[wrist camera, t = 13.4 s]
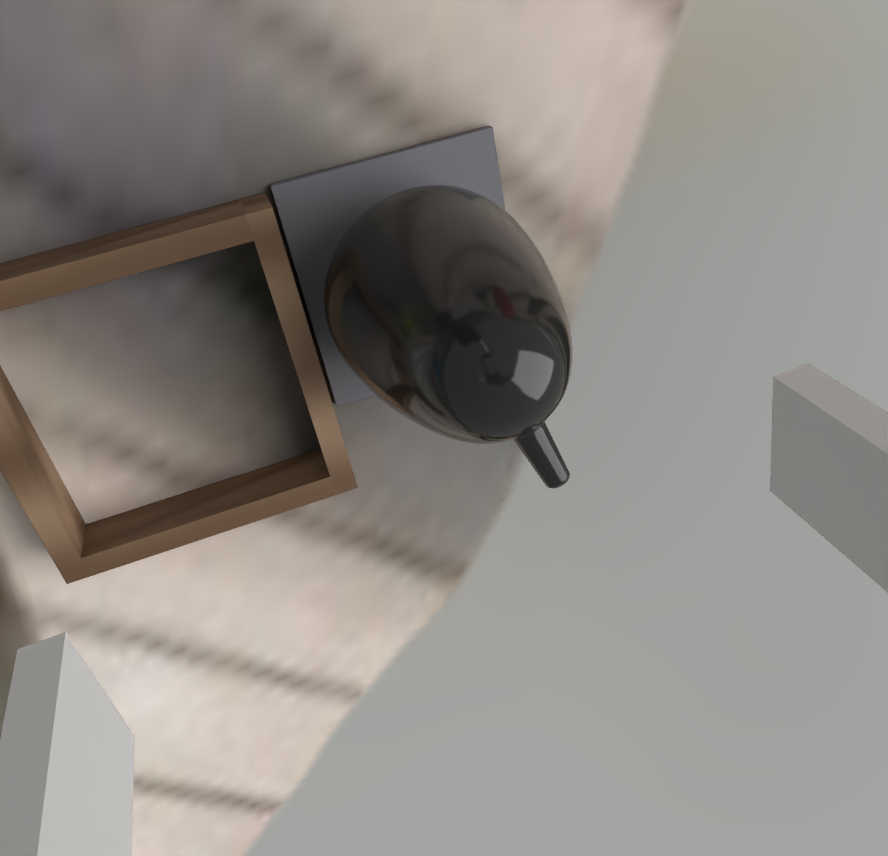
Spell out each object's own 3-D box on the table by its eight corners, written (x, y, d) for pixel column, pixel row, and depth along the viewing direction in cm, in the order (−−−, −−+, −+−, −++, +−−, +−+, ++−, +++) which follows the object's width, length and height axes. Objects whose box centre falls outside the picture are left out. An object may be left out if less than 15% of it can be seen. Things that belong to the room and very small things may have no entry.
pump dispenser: (376, 400, 44) (461, 569, 31) (271, 239, 39) (322, 365, 26) (536, 303, 44) (685, 433, 32) (454, 128, 39) (596, 199, 26)
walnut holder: (-76, 284, 36) (-95, 306, 33) (265, 192, 38) (272, 207, 36) (72, 549, 44) (66, 583, 41) (347, 459, 46) (357, 487, 44)
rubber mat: (269, 184, 38) (270, 186, 38) (489, 125, 40) (492, 127, 39) (335, 402, 44) (336, 407, 44) (522, 344, 46) (525, 347, 45)
